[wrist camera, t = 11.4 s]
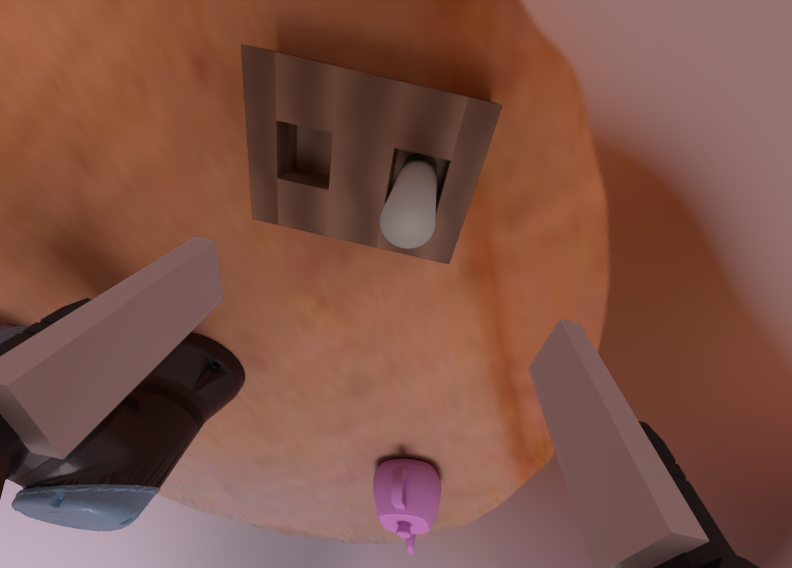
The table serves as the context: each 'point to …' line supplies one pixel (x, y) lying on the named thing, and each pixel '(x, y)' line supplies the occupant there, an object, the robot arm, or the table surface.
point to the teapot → (406, 497)
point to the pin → (411, 204)
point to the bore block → (356, 147)
